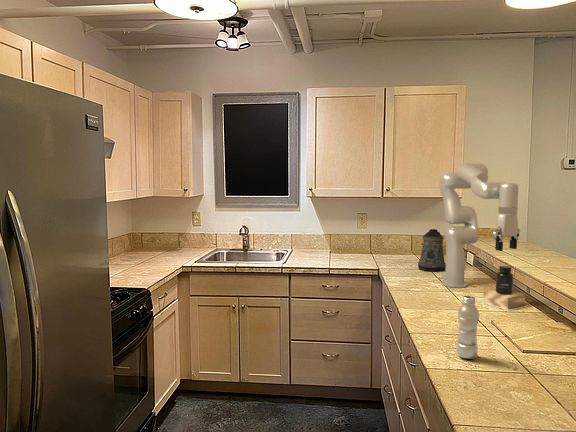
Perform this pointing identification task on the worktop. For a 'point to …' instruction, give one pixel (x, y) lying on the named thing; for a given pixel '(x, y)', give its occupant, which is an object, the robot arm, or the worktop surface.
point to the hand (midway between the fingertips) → (506, 249)
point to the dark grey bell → (432, 252)
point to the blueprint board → (507, 309)
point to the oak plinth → (504, 299)
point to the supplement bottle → (504, 281)
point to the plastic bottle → (468, 329)
